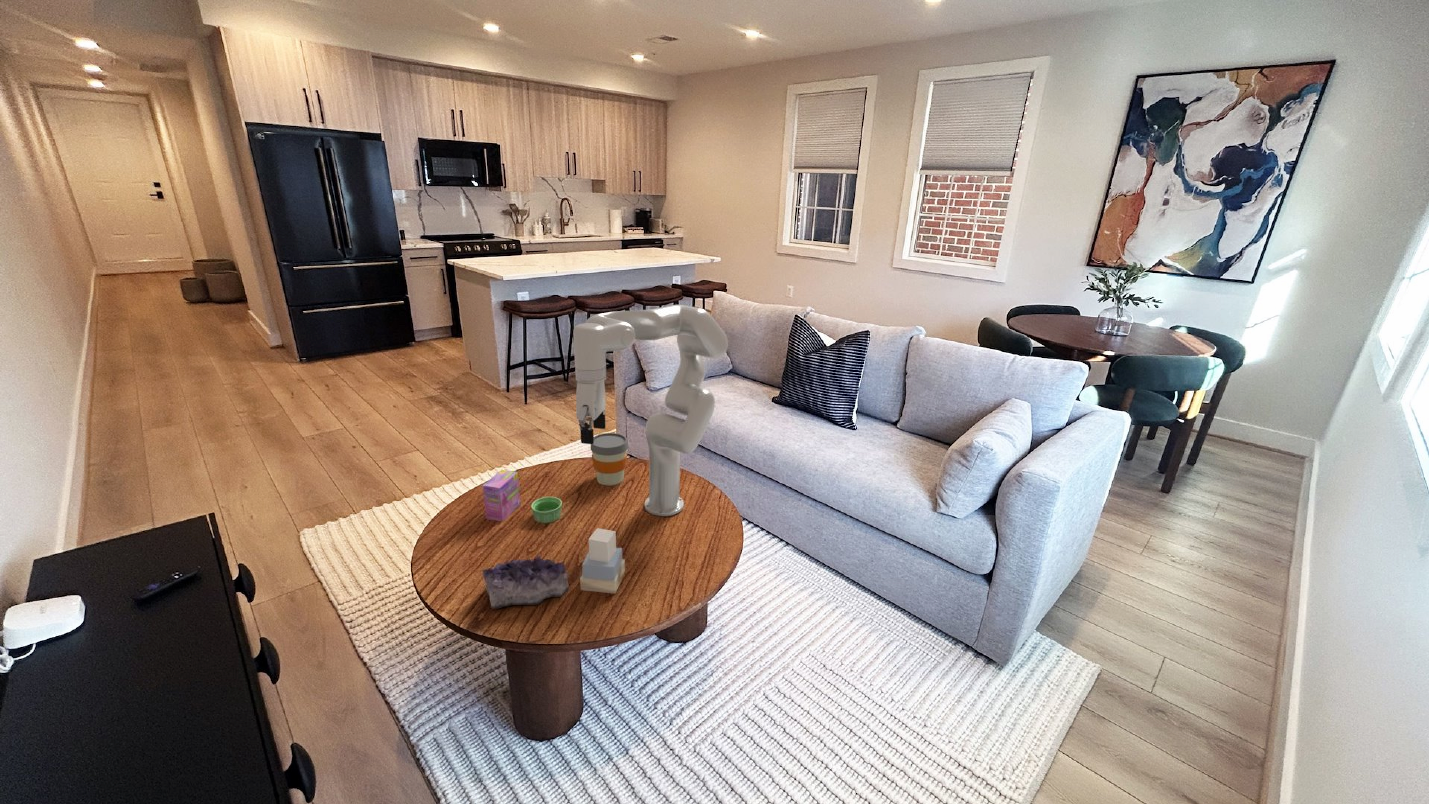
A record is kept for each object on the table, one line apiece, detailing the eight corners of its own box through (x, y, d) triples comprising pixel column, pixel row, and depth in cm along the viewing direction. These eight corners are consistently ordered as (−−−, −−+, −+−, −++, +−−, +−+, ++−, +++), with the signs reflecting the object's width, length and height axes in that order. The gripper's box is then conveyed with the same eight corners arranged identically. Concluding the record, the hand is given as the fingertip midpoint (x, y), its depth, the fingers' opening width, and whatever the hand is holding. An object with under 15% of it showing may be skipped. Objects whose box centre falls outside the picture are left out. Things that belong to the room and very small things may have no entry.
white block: (598, 547, 143) (597, 528, 141) (616, 551, 142) (615, 531, 140) (589, 559, 139) (588, 539, 136) (608, 562, 138) (607, 542, 135)
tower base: (592, 568, 148) (591, 555, 146) (625, 571, 147) (624, 559, 145) (580, 590, 139) (580, 577, 138) (615, 594, 138) (615, 581, 137)
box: (503, 522, 166) (499, 487, 162) (486, 519, 167) (481, 485, 163) (521, 504, 175) (518, 471, 171) (504, 502, 176) (501, 469, 172)
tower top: (592, 558, 145) (591, 545, 144) (622, 560, 145) (621, 548, 143) (583, 577, 138) (582, 564, 136) (614, 580, 137) (614, 567, 136)
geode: (568, 571, 146) (567, 542, 141) (569, 606, 136) (569, 576, 132) (485, 580, 140) (482, 550, 136) (480, 616, 131) (477, 586, 126)
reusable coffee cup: (586, 485, 188) (584, 445, 182) (599, 468, 199) (598, 430, 194) (621, 490, 186) (620, 449, 181) (633, 472, 198) (632, 434, 192)
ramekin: (561, 506, 175) (560, 494, 173) (563, 522, 167) (563, 509, 166) (531, 510, 172) (530, 498, 171) (532, 526, 164) (531, 513, 163)
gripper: (587, 362, 147) (590, 421, 153) (563, 383, 131) (567, 448, 137) (615, 364, 146) (617, 423, 152) (594, 385, 130) (597, 451, 136)
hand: (593, 435), depth 144 cm, fingers open, 9 cm apart
